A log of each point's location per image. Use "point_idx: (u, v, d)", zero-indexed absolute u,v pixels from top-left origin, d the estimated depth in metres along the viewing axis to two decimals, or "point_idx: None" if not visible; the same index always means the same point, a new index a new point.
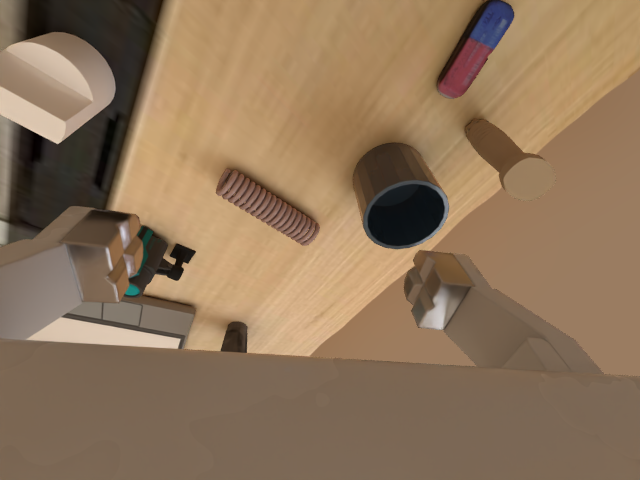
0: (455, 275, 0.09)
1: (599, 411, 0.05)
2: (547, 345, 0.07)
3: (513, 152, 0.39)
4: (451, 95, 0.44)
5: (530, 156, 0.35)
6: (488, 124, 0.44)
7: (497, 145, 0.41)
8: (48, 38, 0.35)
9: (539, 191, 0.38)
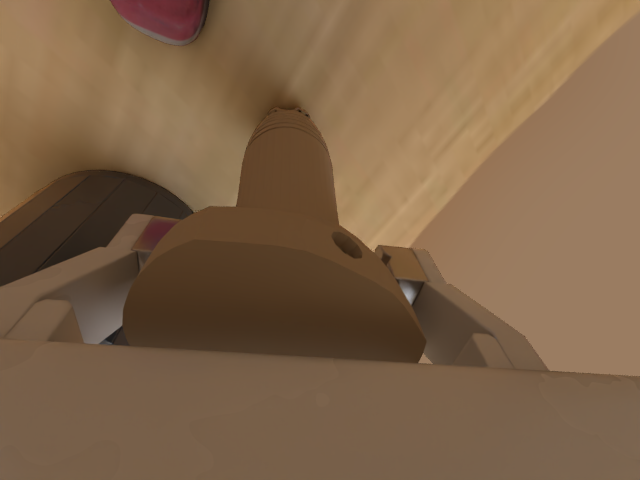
0: (410, 270, 0.09)
1: (599, 411, 0.05)
2: (492, 341, 0.07)
3: (263, 197, 0.09)
4: (163, 31, 0.15)
5: (216, 230, 0.06)
6: (282, 114, 0.15)
7: (249, 171, 0.11)
8: None
9: None
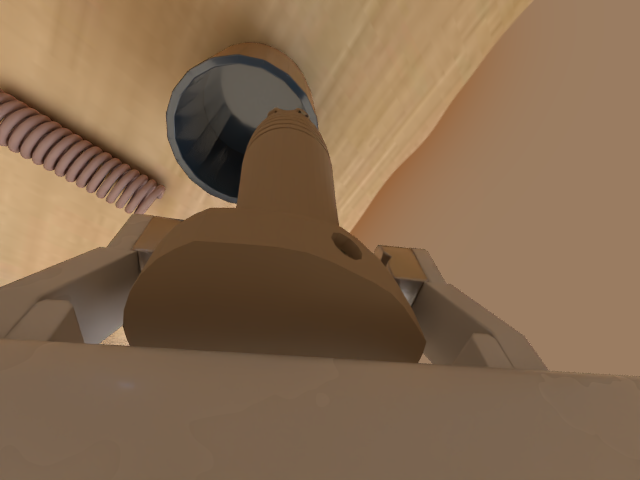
0: (409, 270, 0.09)
1: (599, 411, 0.05)
2: (492, 341, 0.07)
3: (263, 198, 0.09)
4: None
5: (217, 232, 0.06)
6: (282, 114, 0.15)
7: (249, 172, 0.11)
8: None
9: None
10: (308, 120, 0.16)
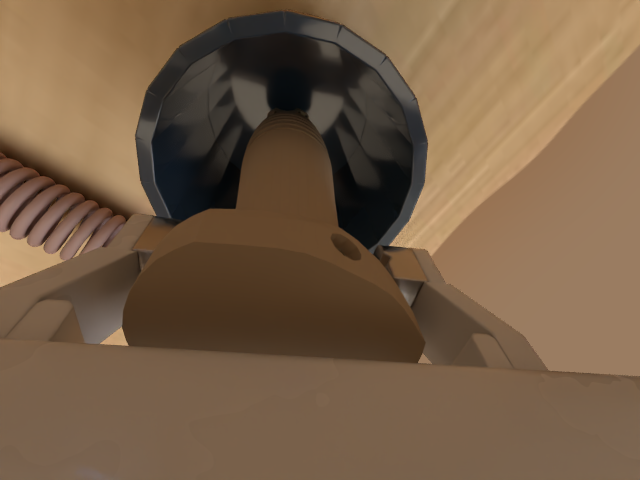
0: (409, 270, 0.09)
1: (599, 411, 0.05)
2: (492, 341, 0.07)
3: (262, 198, 0.09)
4: None
5: (216, 232, 0.06)
6: (282, 115, 0.15)
7: (249, 172, 0.11)
8: None
9: None
10: (308, 120, 0.16)
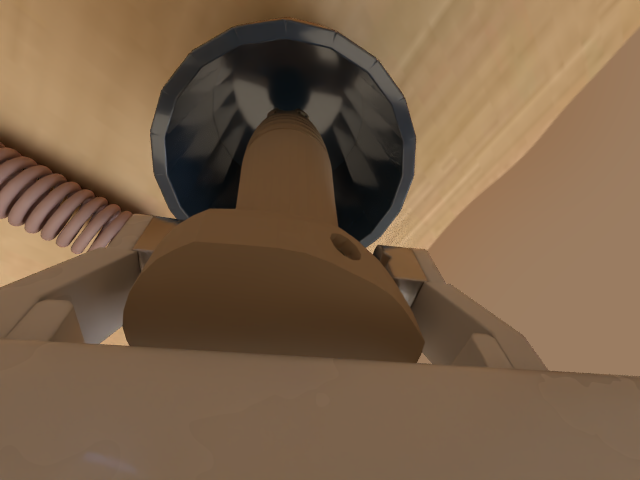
0: (409, 270, 0.09)
1: (599, 411, 0.05)
2: (492, 341, 0.07)
3: (262, 198, 0.09)
4: None
5: (216, 233, 0.06)
6: (282, 115, 0.15)
7: (248, 172, 0.11)
8: None
9: None
10: (308, 120, 0.16)
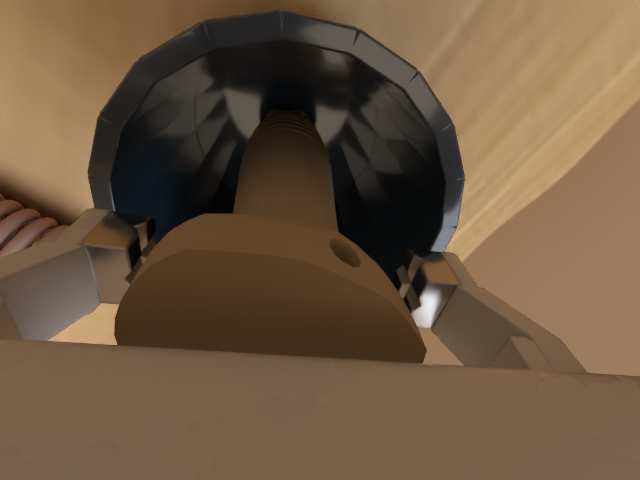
0: (442, 274, 0.09)
1: (599, 411, 0.05)
2: (530, 344, 0.07)
3: (260, 201, 0.09)
4: None
5: (210, 239, 0.05)
6: (281, 115, 0.15)
7: (247, 174, 0.11)
8: None
9: None
10: (307, 121, 0.16)
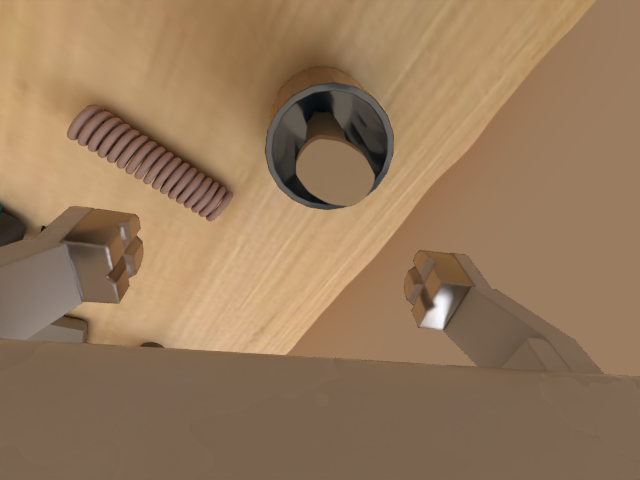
0: (455, 275, 0.09)
1: (599, 411, 0.05)
2: (546, 345, 0.07)
3: None
4: None
5: (323, 138, 0.24)
6: (322, 114, 0.34)
7: (315, 134, 0.30)
8: None
9: (357, 191, 0.27)
10: None
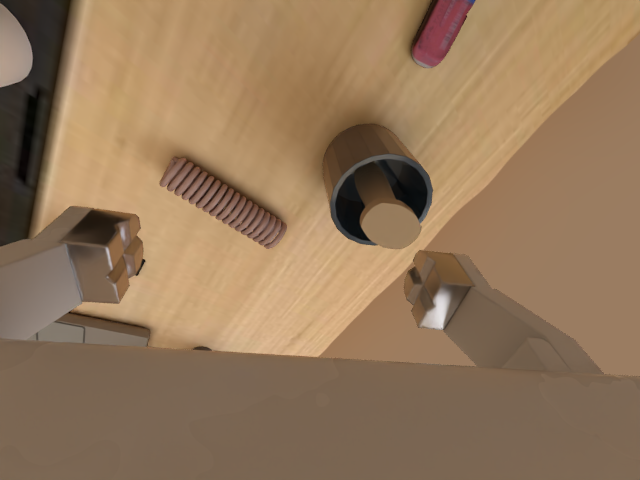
0: (455, 275, 0.09)
1: (599, 411, 0.05)
2: (546, 345, 0.07)
3: (379, 195, 0.35)
4: (428, 62, 0.38)
5: (384, 201, 0.32)
6: (369, 165, 0.41)
7: (368, 188, 0.37)
8: None
9: (407, 238, 0.34)
10: (377, 166, 0.42)
